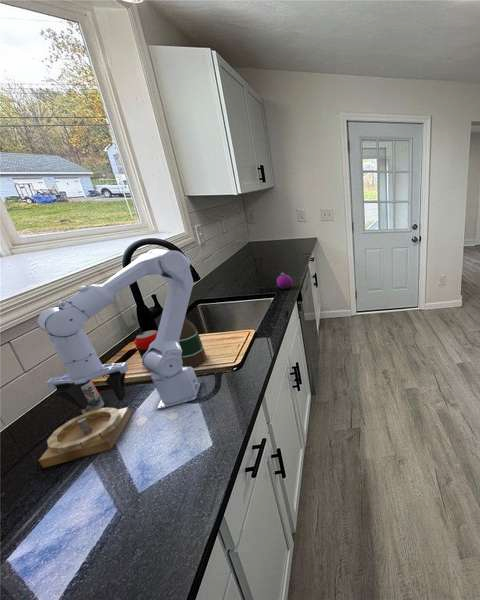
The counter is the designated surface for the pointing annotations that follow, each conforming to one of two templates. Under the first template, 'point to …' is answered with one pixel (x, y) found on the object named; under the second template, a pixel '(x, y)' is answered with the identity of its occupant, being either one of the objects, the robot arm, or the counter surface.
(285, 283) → the christmas ornament
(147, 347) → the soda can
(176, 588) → the counter surface
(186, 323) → the beer bottle
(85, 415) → the hoop
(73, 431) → the stand
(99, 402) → the small jar
